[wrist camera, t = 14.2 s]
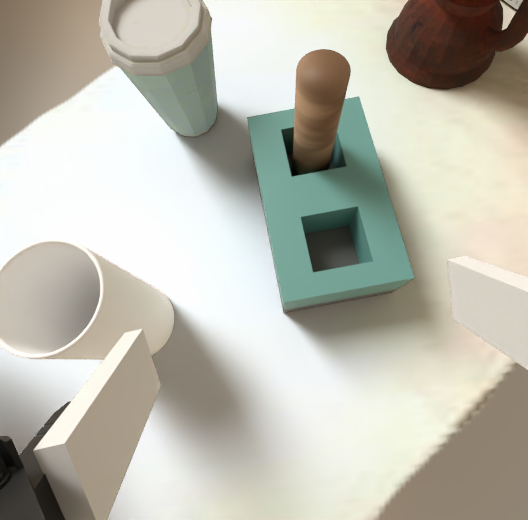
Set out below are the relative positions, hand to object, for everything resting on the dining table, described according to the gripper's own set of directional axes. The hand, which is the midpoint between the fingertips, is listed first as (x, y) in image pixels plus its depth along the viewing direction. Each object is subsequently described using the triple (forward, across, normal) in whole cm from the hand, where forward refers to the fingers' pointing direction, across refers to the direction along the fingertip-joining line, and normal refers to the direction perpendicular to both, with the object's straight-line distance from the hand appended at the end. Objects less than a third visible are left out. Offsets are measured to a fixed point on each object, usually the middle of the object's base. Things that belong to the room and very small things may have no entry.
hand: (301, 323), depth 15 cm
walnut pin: (+28, +6, +5) cm, 29 cm away
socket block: (+27, +6, 0) cm, 28 cm away
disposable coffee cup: (+36, -6, +15) cm, 39 cm away
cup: (+24, -16, -6) cm, 29 cm away
